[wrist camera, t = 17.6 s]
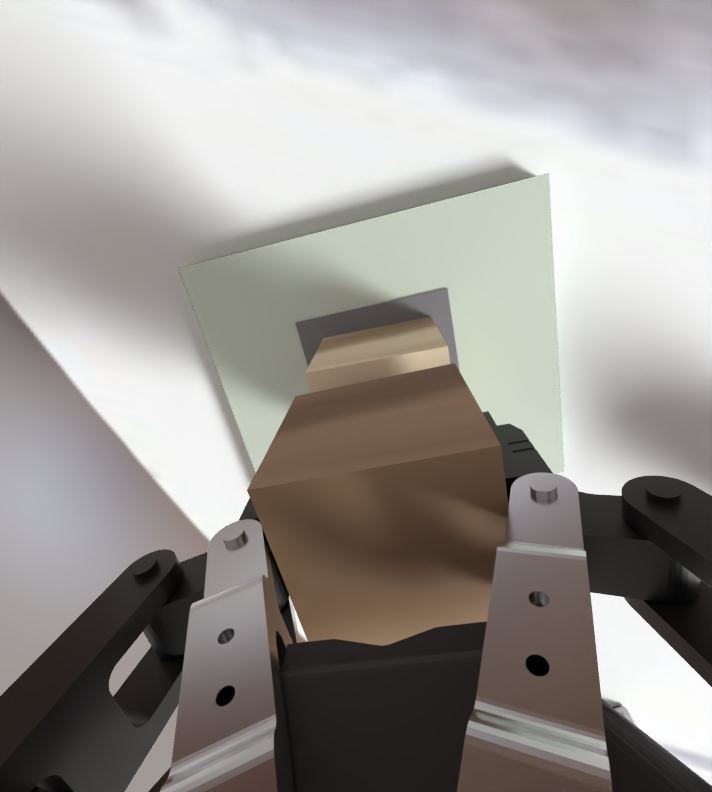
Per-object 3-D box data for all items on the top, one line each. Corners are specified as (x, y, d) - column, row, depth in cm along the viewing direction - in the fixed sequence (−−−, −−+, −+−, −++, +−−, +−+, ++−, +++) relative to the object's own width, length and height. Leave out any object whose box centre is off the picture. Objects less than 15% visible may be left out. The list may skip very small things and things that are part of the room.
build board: (189, 265, 19) (176, 268, 18) (537, 176, 17) (549, 172, 16) (277, 504, 24) (272, 518, 23) (555, 459, 22) (564, 472, 21)
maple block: (323, 337, 19) (305, 372, 14) (430, 316, 18) (448, 346, 14) (346, 431, 21) (337, 490, 16) (445, 415, 20) (464, 471, 15)
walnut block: (295, 396, 13) (247, 490, 8) (454, 363, 12) (501, 444, 7) (335, 522, 15) (314, 658, 10) (476, 499, 14) (524, 634, 9)
